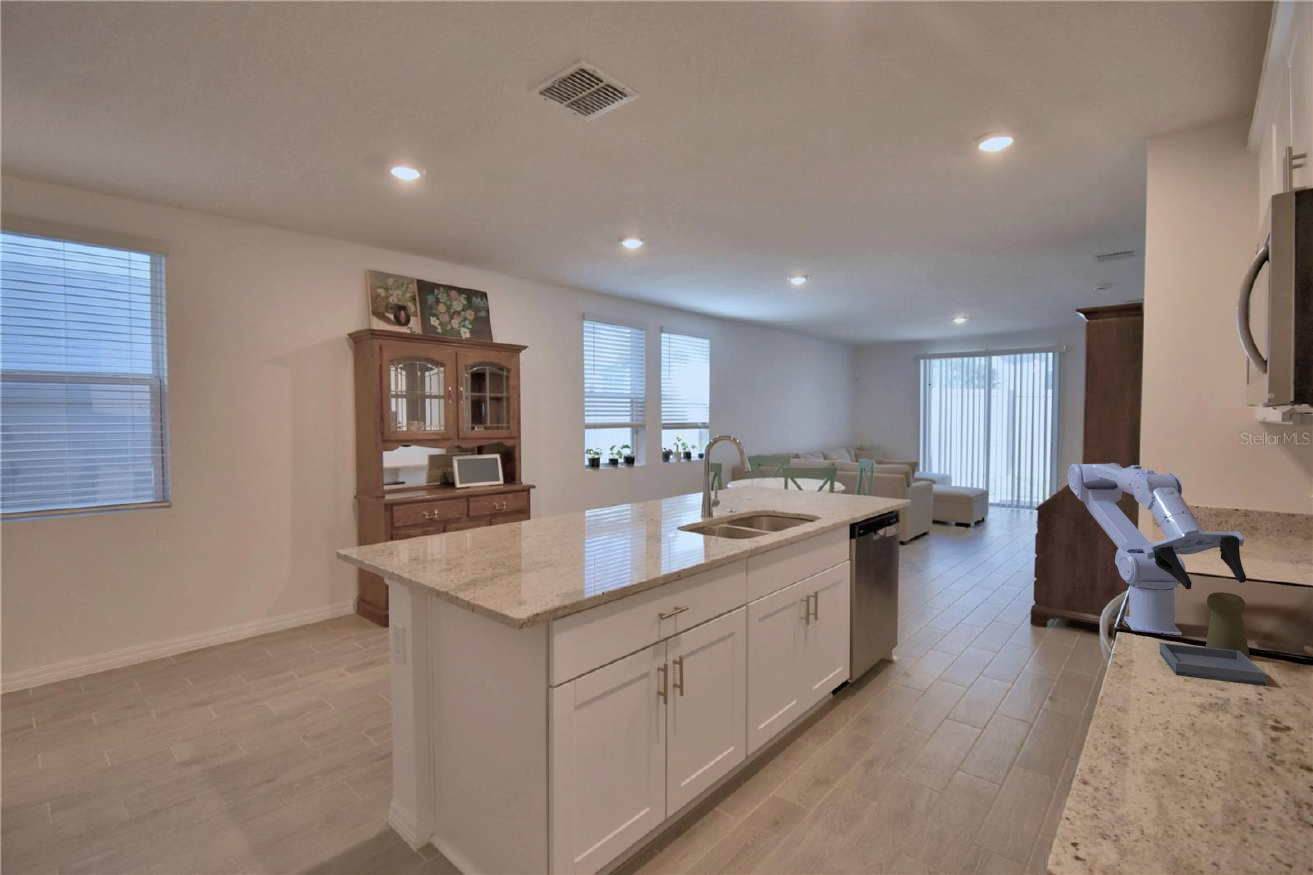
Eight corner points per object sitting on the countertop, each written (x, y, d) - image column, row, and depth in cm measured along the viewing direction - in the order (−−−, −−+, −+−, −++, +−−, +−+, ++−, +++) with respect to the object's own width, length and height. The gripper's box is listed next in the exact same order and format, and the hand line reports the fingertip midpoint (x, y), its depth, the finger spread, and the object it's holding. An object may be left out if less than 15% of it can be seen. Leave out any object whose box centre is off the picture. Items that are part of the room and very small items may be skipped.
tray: (1159, 653, 114) (1159, 642, 114) (1240, 662, 109) (1239, 650, 109) (1175, 674, 104) (1175, 662, 104) (1265, 685, 99) (1265, 673, 99)
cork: (1252, 662, 109) (1251, 599, 109) (1206, 655, 112) (1205, 595, 112) (1247, 652, 114) (1245, 592, 113) (1203, 646, 117) (1202, 588, 117)
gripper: (1133, 517, 119) (1166, 576, 109) (1226, 502, 114) (1270, 562, 104) (1133, 539, 123) (1165, 598, 113) (1223, 525, 118) (1265, 586, 108)
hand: (1215, 582), depth 109 cm, fingers open, 7 cm apart
